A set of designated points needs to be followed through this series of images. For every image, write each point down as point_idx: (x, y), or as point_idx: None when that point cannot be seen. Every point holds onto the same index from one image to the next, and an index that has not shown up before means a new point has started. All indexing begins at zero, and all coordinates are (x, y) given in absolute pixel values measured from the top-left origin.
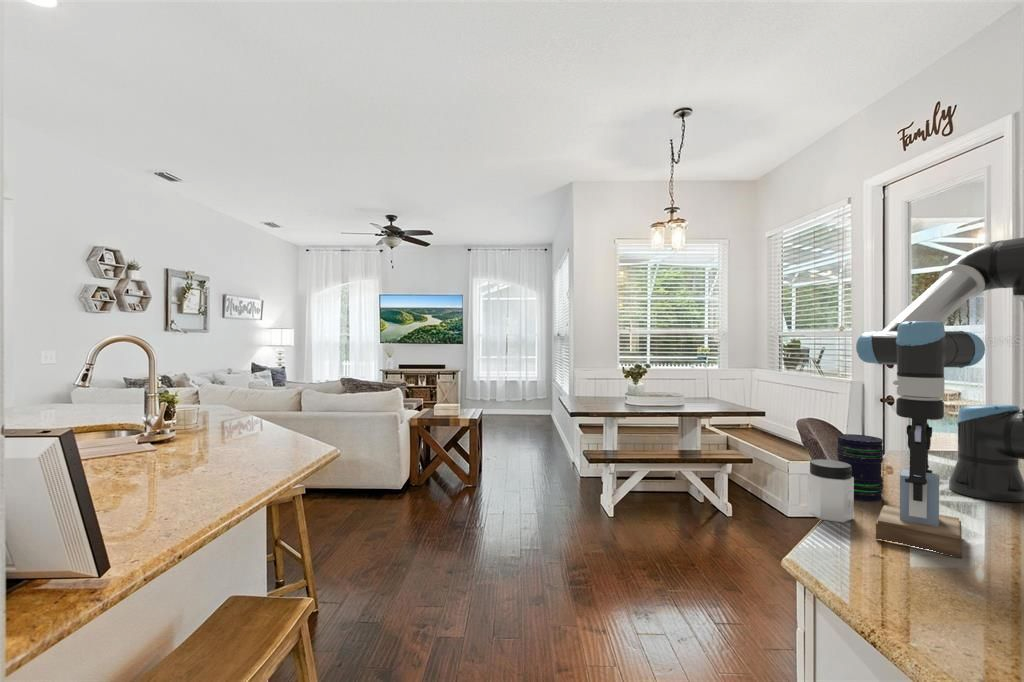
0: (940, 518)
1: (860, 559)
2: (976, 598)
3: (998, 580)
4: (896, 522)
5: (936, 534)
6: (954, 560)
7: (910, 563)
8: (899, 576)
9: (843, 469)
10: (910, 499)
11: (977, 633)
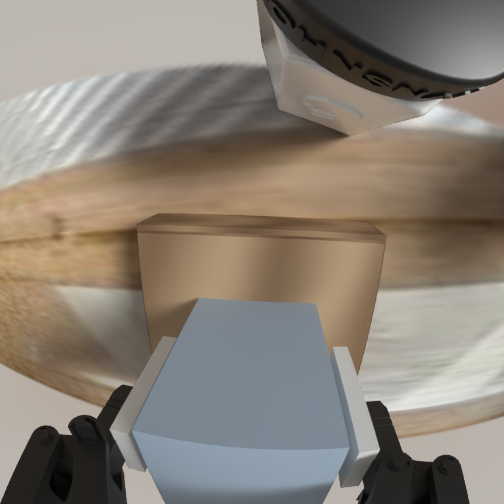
0: None
1: (25, 201)
2: (27, 352)
3: None
4: (157, 287)
5: None
6: None
7: (68, 287)
8: (10, 267)
9: (305, 18)
10: (141, 378)
11: None
